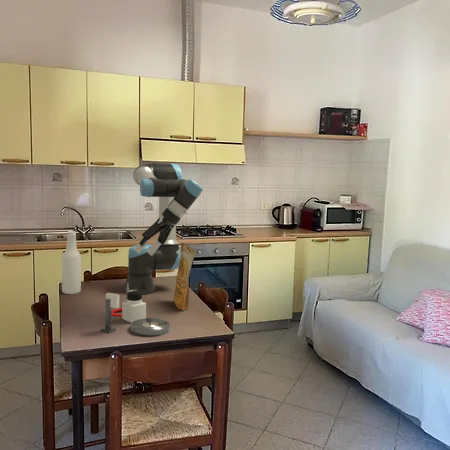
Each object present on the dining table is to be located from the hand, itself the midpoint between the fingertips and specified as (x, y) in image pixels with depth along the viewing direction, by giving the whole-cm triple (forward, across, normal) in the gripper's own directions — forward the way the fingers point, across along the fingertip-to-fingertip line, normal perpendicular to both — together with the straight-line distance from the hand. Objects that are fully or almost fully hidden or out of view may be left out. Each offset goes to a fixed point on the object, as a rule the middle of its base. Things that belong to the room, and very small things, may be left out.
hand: (143, 252), depth 194 cm
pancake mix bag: (+12, +26, -21) cm, 36 cm away
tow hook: (+27, +6, -7) cm, 29 cm away
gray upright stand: (+28, -14, -14) cm, 35 cm away
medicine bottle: (+24, +1, -14) cm, 28 cm away
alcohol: (+44, +26, +27) cm, 58 cm away
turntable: (+19, -7, -24) cm, 32 cm away
